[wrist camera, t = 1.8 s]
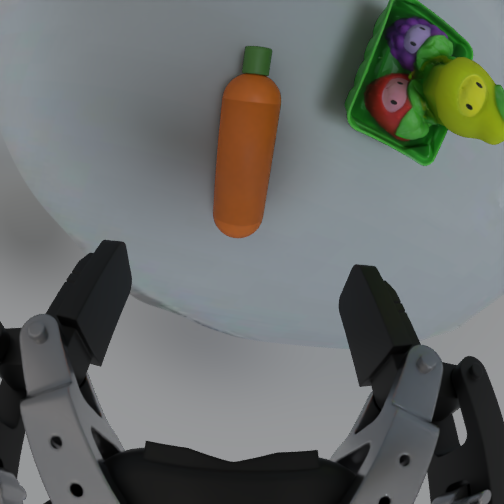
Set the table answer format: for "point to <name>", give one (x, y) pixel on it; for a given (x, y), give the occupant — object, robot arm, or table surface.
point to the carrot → (246, 145)
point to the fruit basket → (422, 85)
